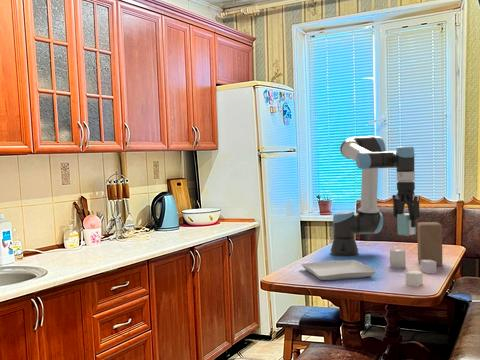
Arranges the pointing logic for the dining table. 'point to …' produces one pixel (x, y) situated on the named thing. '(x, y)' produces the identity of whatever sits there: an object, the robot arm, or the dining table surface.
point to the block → (430, 242)
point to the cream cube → (414, 278)
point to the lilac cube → (428, 266)
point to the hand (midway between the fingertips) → (406, 233)
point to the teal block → (403, 224)
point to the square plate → (339, 269)
